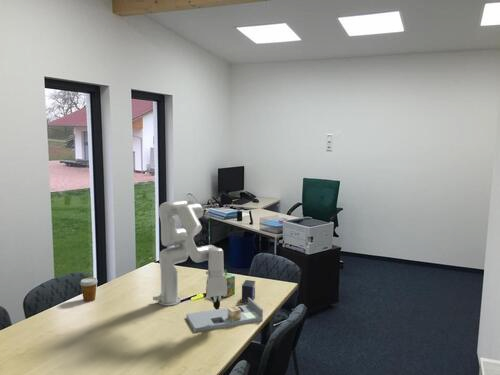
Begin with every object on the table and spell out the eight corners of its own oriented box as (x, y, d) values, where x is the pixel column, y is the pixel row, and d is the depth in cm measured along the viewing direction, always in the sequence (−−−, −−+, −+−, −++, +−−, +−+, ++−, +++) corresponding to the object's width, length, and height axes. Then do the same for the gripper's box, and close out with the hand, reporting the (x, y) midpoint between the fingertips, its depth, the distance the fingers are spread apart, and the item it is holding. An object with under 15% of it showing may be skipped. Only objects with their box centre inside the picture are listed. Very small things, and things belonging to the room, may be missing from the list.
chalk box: (225, 298, 238) (225, 274, 236) (214, 294, 244) (214, 271, 242) (235, 294, 245) (235, 270, 244) (224, 290, 251) (224, 267, 249)
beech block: (232, 321, 202) (232, 311, 201) (227, 317, 206) (227, 308, 205) (240, 319, 204) (240, 309, 204) (236, 315, 208) (236, 306, 208)
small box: (252, 304, 230) (252, 286, 229) (241, 303, 231) (241, 285, 230) (255, 297, 240) (255, 280, 239) (245, 296, 241) (245, 279, 240)
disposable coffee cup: (101, 297, 238) (100, 277, 236) (93, 303, 228) (92, 283, 227) (85, 296, 238) (85, 277, 237) (77, 302, 229) (76, 282, 228)
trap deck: (195, 332, 193) (195, 320, 193) (186, 317, 210) (186, 306, 209) (262, 320, 207) (262, 309, 207) (249, 307, 224) (249, 297, 223)
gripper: (203, 276, 193) (204, 313, 195) (232, 273, 199) (233, 308, 200) (199, 272, 200) (200, 308, 201) (227, 269, 206) (228, 303, 207)
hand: (216, 308), depth 201 cm, fingers closed
